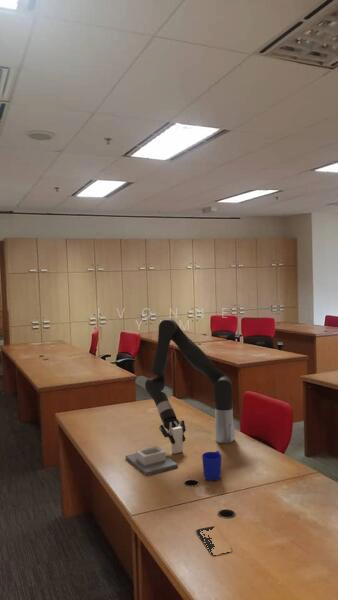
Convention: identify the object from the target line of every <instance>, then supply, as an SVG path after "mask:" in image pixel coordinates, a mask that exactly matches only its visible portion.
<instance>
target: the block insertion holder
mask: <svg viewBox="0 0 338 600" xmlns="http://www.w3.org/2000/svg"><path fill="white" fill-rule="evenodd" d="M125 460H126V461H128V462H129V463H130V464H132V465H133V466H134V467H135V468H136V469H137V470H139V471H140V472H141V473H142V474H144V475H145V476H151V475H154V474H157V473H161V472H165V471H170V470H173V469H176V468H178V467H179V466H178V465H179V464H178V463H177V462H175V461H174V460H172V459H171V458H170V457H168V456H167V455H166V451H165V450H163V449H162V448H160V447H159V446H156V445H155V446H152V447H146V448H143V449H140V450H139V449H138V450H136V451H135V453H131V454H126V455H125Z"/></svg>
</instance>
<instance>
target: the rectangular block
mask: <svg viewBox="0 0 338 600" xmlns="http://www.w3.org/2000/svg"><path fill="white" fill-rule="evenodd" d="M171 433H172V435H173V438H174V440H175V444H172V443H171V442H170V444H171V453H172V454H175V455H176V454H179V453H182V452H183V453H184V442H183V434H184V433H182V427H181V426H180V425H179V426H178V427H174V428H171Z"/></svg>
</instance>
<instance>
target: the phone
mask: <svg viewBox="0 0 338 600" xmlns="http://www.w3.org/2000/svg"><path fill="white" fill-rule="evenodd" d="M214 527H215V526H213V525H212V526H208V527H202V528H198V529H196V531H195V533H196V532H197V533H198V535H199V536H200V538H201V539H202V541H203V542H206V543H204V544H205V545H206V544H207V545H206V547H207V546H208V547H207V548H209V549H208V550H210V552H211V551H212V550H211V549H212V548H213V547H215V546H214V544H212V541H211V540H210V539H212V538H210V537H209V535H208V537H209V538H206V537H204V538H203V536H202V535H201V534H200V532H201V531H203V530H206V531H209V529H210V530H212V529H213V528H214ZM200 530H201V531H200ZM197 533H196V534H197ZM202 533H203V532H202ZM198 535H197V536H198ZM203 535H204V536H205V534H203ZM199 536H198V537H199ZM200 538H199V539H200ZM201 539H200V540H201ZM204 539H205V541H204ZM208 540H209V541H210V542H209V541H208ZM202 541H201V542H202ZM203 542H202V543H203ZM210 543H211V544H210ZM204 544H203V545H204ZM205 545H204V546H205ZM206 547H205V548H206ZM207 548H206V549H207ZM213 549H214V548H213ZM208 550H207V551H208ZM211 554H213V553H212V552H211ZM211 554H210V555H211Z"/></svg>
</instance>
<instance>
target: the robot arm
mask: <svg viewBox="0 0 338 600" xmlns="http://www.w3.org/2000/svg"><path fill="white" fill-rule="evenodd" d="M171 341H172V342H173V343H174V344H175V346H177V348H178V350H179V351H180V353H181V354H182V355H183V357H184V358H185V360H186V361H187V362H188V363H189V364H190V365H191V367H193V368H194V369H195V370H197V371H198V372H200V373H201V374H203V375H204V376H205V377H206V378H207V379H208V380H209V381H210V382H211V384H212V385H213V393H214V421H215V423H214V426H215V430H214V431H215V433H214V434H215V441H216V443H219V444H233V442H234V441H235V438H236V437H235V421H234V414H233V413H234V410H233V409H234V407H233V405H234V404H233V401H234V400H233V382H232V380H231V379H230V378H229V377H228V376H227V375H226V374H225V373H223V372H222V371H221V370H220V369H219V368H218V367H217V366H216V365H215V364H214V363H213V361H212V360H211V359H210V358H209V356H208V355H206V354H205V352H204V351H203V350H202V348H200V347H199V345H197V344H196V343H195V342H194V341H193V340H192V339H191V338H189V337H188V336H187V335H186V334H185V332H184V331H183V330H182V329H181V328H180V326H179V325H178V323H177V321H175V320H174V319H173V318H164V319H163V320H161V321H160V323H159V324H158V335H157V344H156V350H155V353H154V356H153V362H152V366H151V374H153V375H155V376H156V377H152V378H148V379H146V380H145V383H144V386H145V390H146V393H148V395H149V397H150V398H152V400H153V402H154V404H155V406H156V409H157V412H158V415H159V417H160V420H161V422H162V424H161V425H160V426H159V427H158V429H159V431H160V432H161V434H162V435H163V437H164V438H168V439H169V441H170V444H171V443H172V444H175V440H174V438H173V435H172V433H171V428H174V427H178V426H180V427H182V433H183V443H185V441H186V437H185V432H186V430H187V429H186V428H187V427H186V424H185V421H184V420H183V419H182V420H181V421H180V420H179V419H178V418H177V415H176V412H175V410H174V407H173V405H172V403H171V402H170V400H169V398H168V396H167V393H165V392H164V391H163V390H164V389H165V386H166V377H165V375H166V374H165V372H166V371H165V370H166V368H167V363H168V356H169V348H170V344H171ZM172 444H171V445H172Z"/></svg>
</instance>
